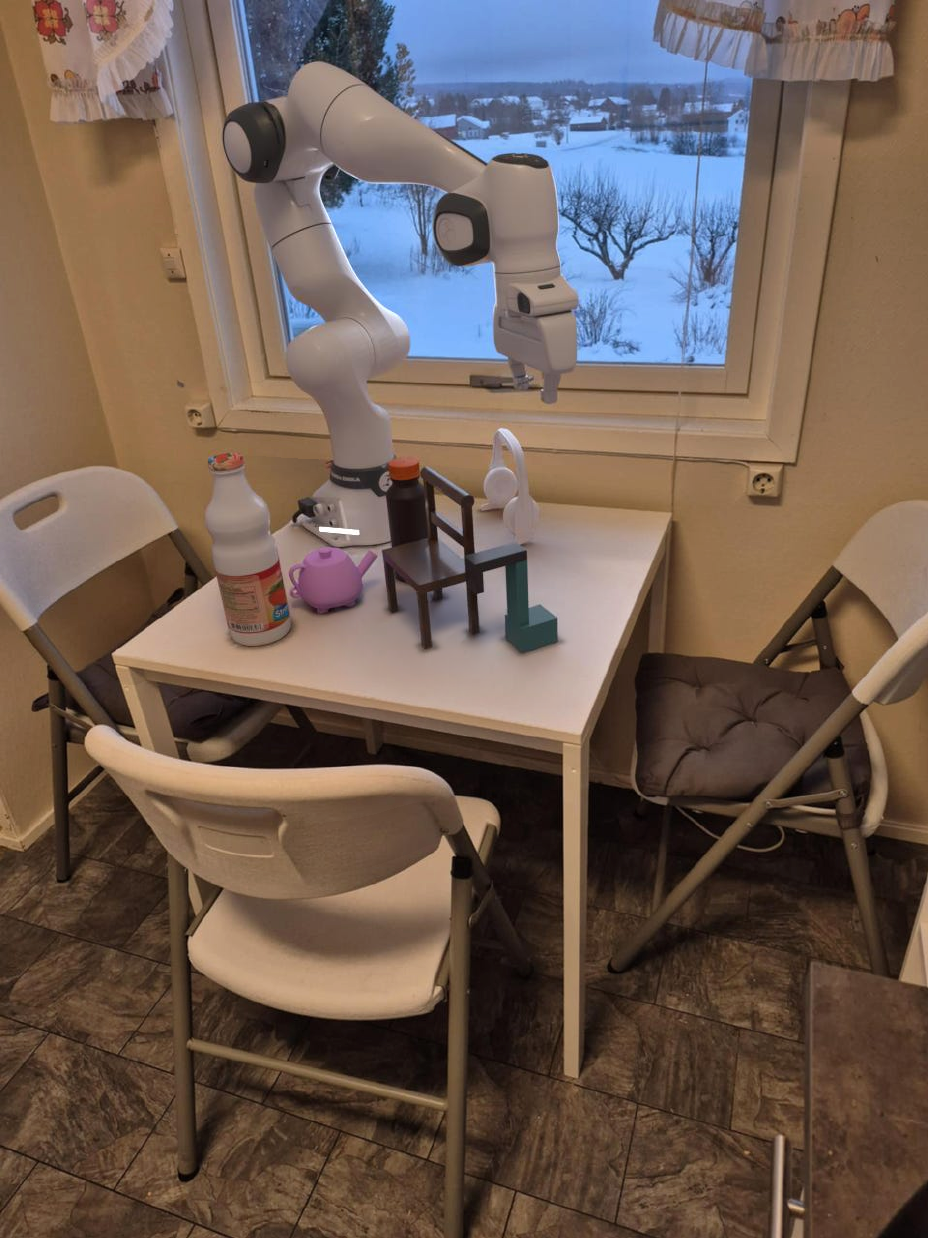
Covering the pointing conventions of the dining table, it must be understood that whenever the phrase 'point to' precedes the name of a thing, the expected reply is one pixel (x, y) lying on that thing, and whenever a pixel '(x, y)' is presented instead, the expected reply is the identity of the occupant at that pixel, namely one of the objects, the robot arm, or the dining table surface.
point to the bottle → (406, 503)
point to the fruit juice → (245, 556)
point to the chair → (434, 556)
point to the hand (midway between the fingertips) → (534, 395)
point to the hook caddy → (514, 596)
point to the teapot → (329, 578)
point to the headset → (511, 489)
